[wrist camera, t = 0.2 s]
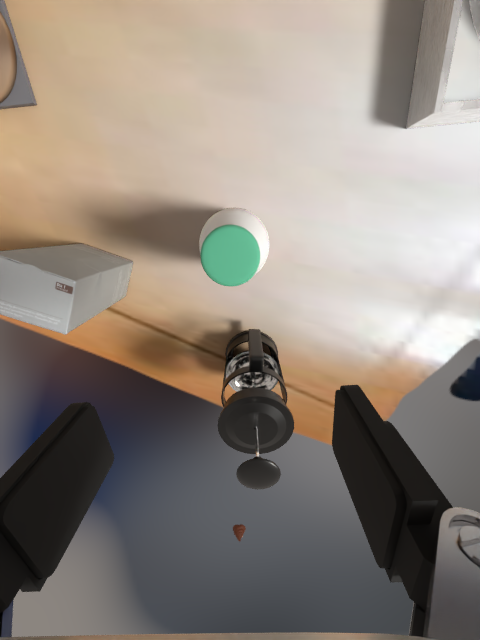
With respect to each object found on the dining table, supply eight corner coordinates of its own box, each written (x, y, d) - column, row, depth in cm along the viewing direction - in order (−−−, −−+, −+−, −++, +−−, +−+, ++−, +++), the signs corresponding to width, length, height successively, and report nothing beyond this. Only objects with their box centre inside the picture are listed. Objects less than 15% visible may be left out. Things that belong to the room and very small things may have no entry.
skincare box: (77, 280, 39) (-21, 315, 25) (83, 236, 37) (-23, 247, 22) (129, 298, 41) (64, 342, 26) (138, 257, 38) (71, 281, 23)
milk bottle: (212, 264, 38) (182, 305, 20) (210, 210, 35) (173, 199, 17) (261, 265, 38) (278, 307, 20) (264, 211, 35) (286, 200, 17)
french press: (274, 379, 46) (301, 515, 25) (225, 377, 46) (209, 512, 25) (281, 322, 42) (319, 429, 20) (226, 320, 42) (207, 424, 20)
